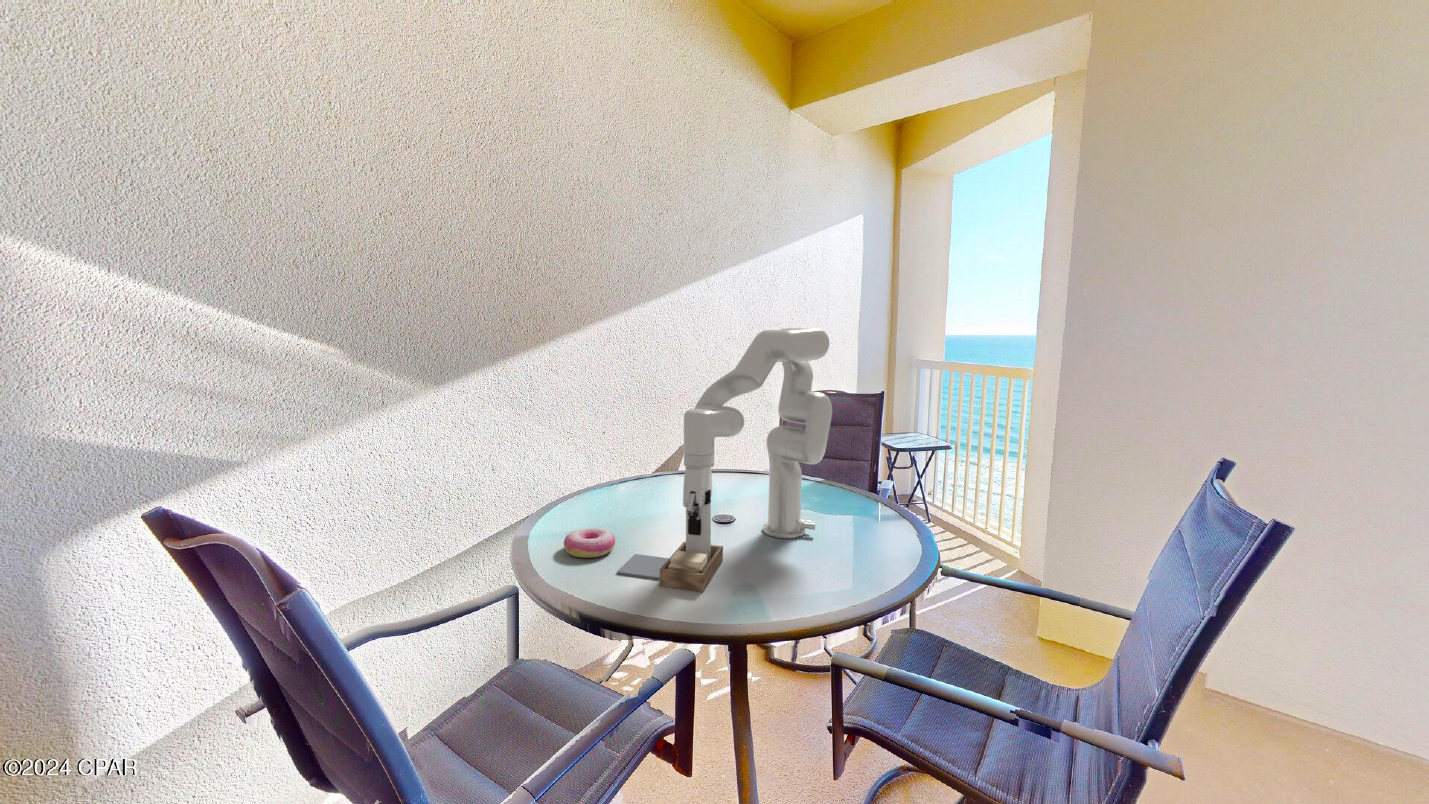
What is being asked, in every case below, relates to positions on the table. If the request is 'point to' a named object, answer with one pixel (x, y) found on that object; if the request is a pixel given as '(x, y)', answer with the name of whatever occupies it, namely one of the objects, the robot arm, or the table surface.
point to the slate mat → (643, 566)
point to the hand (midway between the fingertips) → (698, 528)
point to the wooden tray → (689, 578)
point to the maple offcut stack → (688, 562)
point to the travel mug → (704, 540)
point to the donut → (589, 542)
